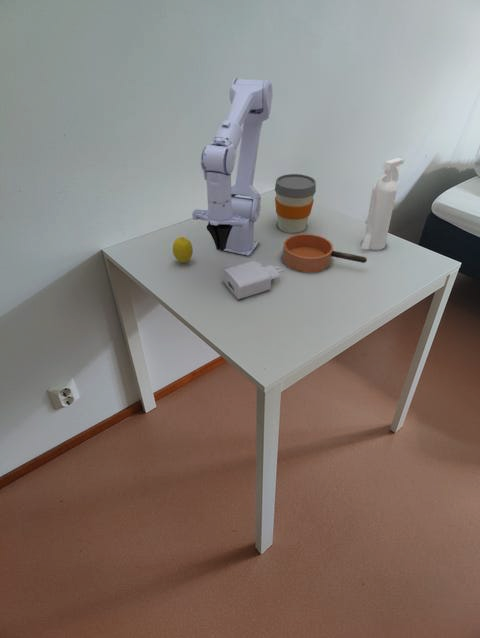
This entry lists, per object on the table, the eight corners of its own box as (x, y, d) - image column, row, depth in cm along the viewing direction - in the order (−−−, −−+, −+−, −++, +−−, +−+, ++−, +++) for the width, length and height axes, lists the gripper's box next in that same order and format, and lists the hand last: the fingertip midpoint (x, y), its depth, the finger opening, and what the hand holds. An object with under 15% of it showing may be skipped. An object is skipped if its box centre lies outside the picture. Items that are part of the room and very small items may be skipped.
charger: (289, 285, 107) (239, 301, 102) (271, 268, 113) (223, 282, 108) (291, 269, 104) (239, 285, 99) (272, 253, 110) (222, 267, 105)
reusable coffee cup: (267, 231, 130) (269, 185, 120) (279, 215, 139) (282, 171, 129) (305, 238, 126) (310, 192, 117) (315, 221, 135) (321, 176, 125)
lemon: (196, 259, 117) (194, 234, 112) (188, 268, 113) (186, 243, 108) (179, 255, 118) (176, 231, 113) (170, 265, 114) (167, 240, 109)
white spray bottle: (349, 248, 121) (366, 164, 105) (373, 235, 128) (392, 153, 112) (369, 257, 118) (388, 171, 101) (392, 243, 124) (414, 160, 108)
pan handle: (327, 256, 113) (327, 251, 112) (328, 253, 114) (329, 248, 113) (365, 264, 110) (366, 259, 109) (366, 261, 111) (367, 256, 110)
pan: (276, 266, 114) (277, 252, 111) (290, 243, 124) (292, 230, 121) (324, 276, 110) (326, 262, 107) (335, 252, 120) (337, 239, 117)
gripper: (184, 200, 96) (189, 250, 104) (241, 210, 91) (241, 261, 100) (198, 189, 101) (201, 238, 109) (252, 198, 96) (251, 248, 105)
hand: (221, 248), depth 105 cm, fingers closed
